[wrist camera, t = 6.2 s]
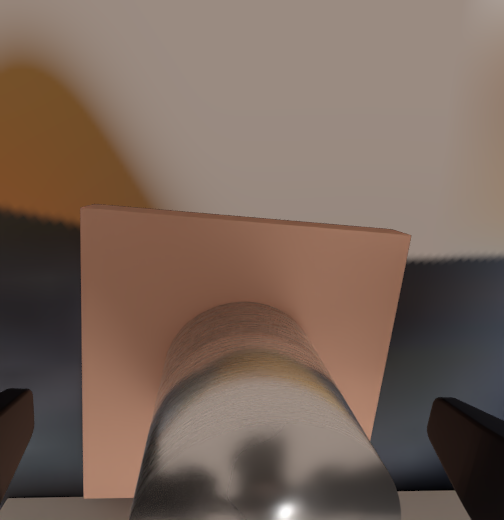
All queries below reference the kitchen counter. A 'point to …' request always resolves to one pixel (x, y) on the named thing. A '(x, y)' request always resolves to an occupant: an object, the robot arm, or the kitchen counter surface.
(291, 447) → the cylinder
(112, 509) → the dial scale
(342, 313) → the rubber mat
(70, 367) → the kitchen counter surface
